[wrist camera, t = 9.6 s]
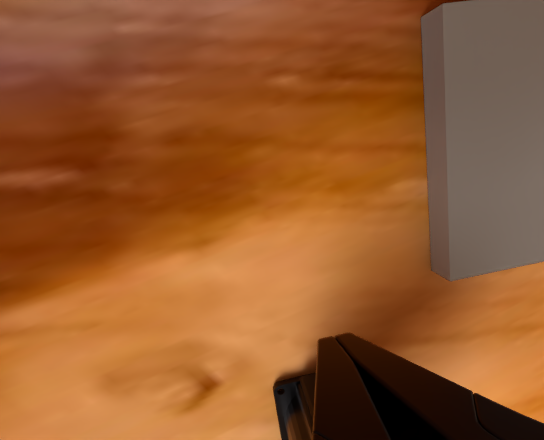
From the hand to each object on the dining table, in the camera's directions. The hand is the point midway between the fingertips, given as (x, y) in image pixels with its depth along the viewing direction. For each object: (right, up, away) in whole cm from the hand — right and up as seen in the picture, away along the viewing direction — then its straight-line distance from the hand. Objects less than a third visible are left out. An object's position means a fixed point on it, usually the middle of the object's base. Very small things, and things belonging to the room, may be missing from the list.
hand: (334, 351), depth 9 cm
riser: (+14, +9, +14) cm, 22 cm away
